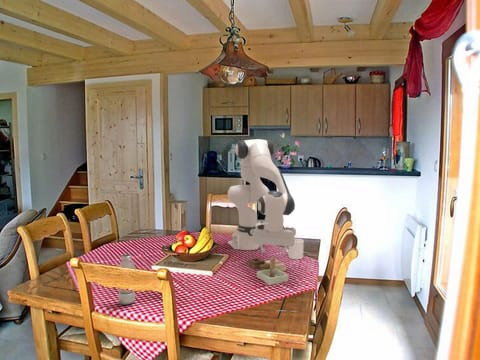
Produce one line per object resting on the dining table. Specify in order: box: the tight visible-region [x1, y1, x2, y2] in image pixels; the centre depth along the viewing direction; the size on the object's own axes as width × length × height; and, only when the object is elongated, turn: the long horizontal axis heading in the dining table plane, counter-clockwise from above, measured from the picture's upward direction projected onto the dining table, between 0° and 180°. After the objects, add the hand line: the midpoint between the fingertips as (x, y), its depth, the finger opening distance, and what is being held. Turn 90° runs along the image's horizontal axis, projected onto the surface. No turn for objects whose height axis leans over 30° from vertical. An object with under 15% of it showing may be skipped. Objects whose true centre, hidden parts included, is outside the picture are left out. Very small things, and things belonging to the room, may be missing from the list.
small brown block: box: [259, 264, 270, 271], centre depth 195 cm, size 4×4×3 cm
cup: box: [285, 238, 305, 261], centre depth 219 cm, size 8×12×10 cm
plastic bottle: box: [117, 253, 136, 306], centre depth 154 cm, size 6×7×20 cm
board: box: [263, 259, 287, 273], centre depth 197 cm, size 10×7×4 cm
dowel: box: [269, 256, 277, 278], centre depth 183 cm, size 2×2×10 cm
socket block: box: [247, 257, 265, 270], centre depth 200 cm, size 6×6×4 cm
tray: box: [256, 268, 290, 286], centre depth 184 cm, size 11×11×3 cm
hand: (273, 253), depth 183 cm, fingers open, 8 cm apart
